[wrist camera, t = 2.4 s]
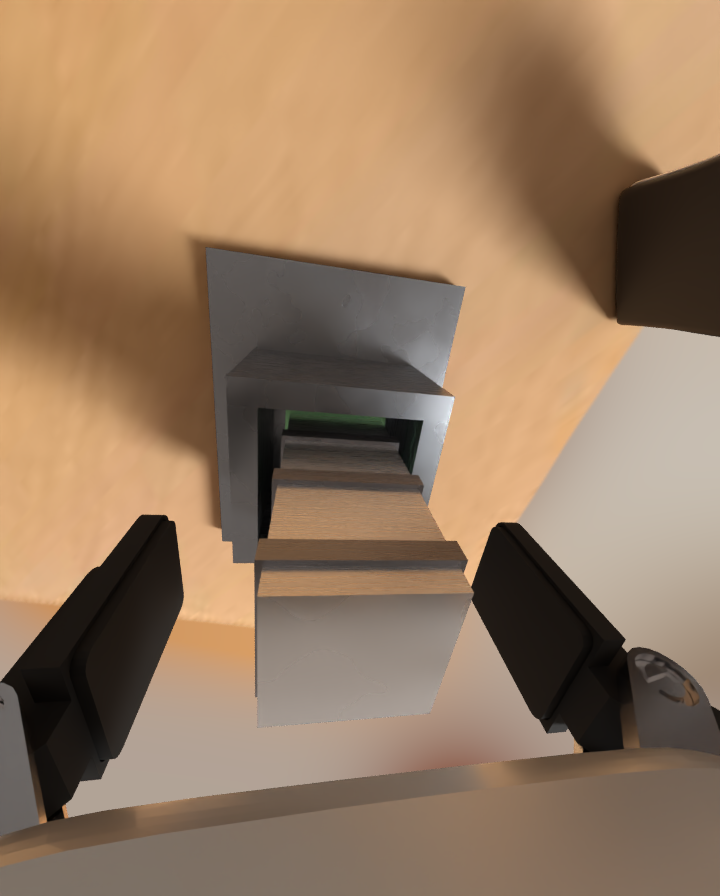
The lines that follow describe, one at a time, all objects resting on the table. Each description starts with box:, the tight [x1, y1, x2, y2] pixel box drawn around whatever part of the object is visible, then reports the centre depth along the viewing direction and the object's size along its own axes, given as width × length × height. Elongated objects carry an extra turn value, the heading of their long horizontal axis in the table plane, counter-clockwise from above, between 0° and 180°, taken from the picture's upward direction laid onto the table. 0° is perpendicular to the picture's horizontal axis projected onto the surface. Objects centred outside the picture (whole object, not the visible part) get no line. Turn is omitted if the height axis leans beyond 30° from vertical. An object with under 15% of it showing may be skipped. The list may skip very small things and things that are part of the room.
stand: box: [206, 247, 465, 563], centre depth 15 cm, size 16×12×9 cm
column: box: [254, 410, 474, 728], centre depth 13 cm, size 4×4×13 cm
